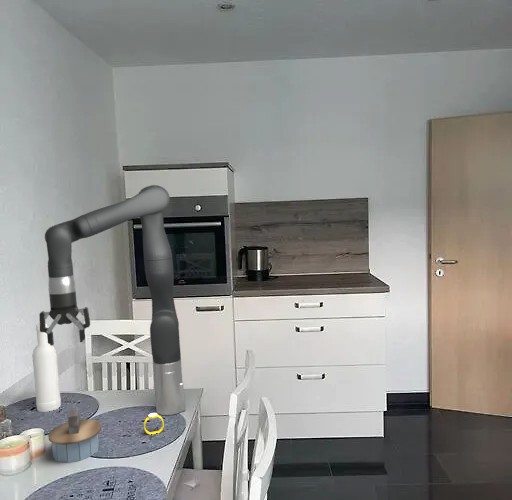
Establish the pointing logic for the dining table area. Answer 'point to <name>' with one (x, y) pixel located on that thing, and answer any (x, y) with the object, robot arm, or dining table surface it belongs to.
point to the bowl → (75, 450)
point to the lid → (74, 430)
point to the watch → (152, 416)
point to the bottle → (46, 374)
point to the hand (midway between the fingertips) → (66, 343)
